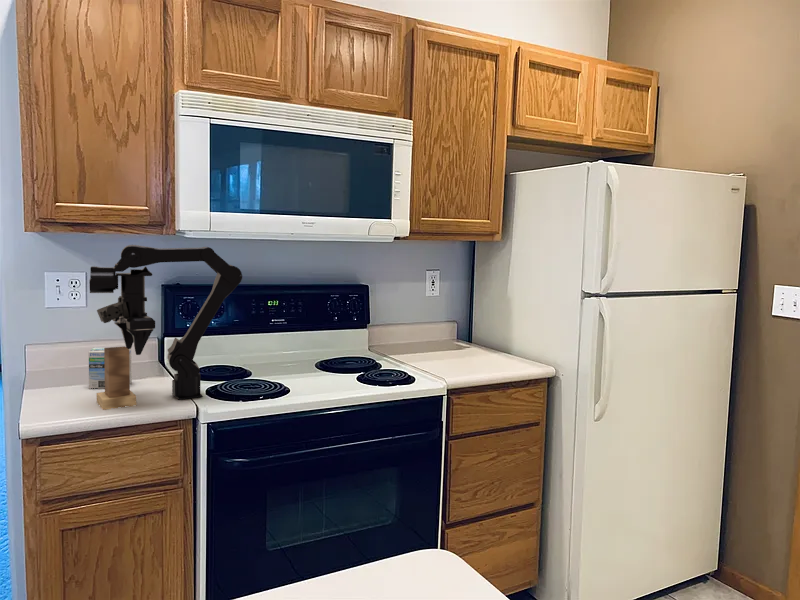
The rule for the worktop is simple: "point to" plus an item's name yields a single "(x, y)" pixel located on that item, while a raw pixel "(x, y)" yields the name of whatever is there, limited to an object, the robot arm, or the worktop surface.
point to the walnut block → (117, 371)
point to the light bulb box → (99, 368)
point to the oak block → (115, 400)
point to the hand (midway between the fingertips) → (133, 351)
